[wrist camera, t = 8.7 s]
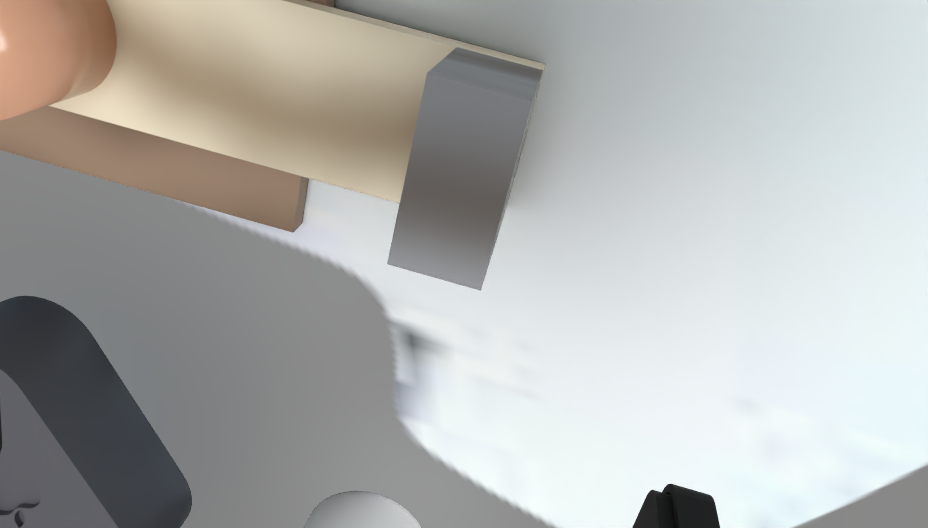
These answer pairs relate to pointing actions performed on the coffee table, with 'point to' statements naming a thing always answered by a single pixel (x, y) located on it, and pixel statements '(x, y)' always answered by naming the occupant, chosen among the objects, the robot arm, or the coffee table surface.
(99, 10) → the puck
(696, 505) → the robot arm
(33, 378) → the streaming box
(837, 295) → the coffee table surface
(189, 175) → the lane board
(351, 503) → the mug
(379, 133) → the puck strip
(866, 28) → the coffee table surface
